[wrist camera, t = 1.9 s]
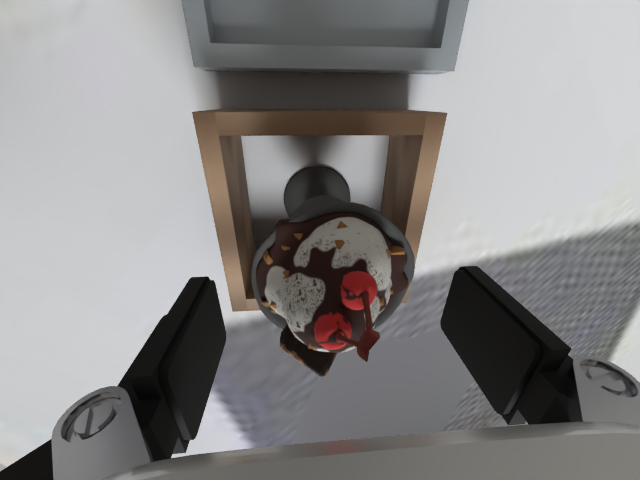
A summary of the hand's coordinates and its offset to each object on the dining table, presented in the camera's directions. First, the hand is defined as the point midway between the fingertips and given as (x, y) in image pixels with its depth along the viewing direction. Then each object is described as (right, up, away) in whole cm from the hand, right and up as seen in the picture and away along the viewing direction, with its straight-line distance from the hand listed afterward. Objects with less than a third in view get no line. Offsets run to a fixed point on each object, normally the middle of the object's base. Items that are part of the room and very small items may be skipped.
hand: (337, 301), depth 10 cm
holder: (-1, +5, +9) cm, 11 cm away
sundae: (-1, +6, +9) cm, 11 cm away
